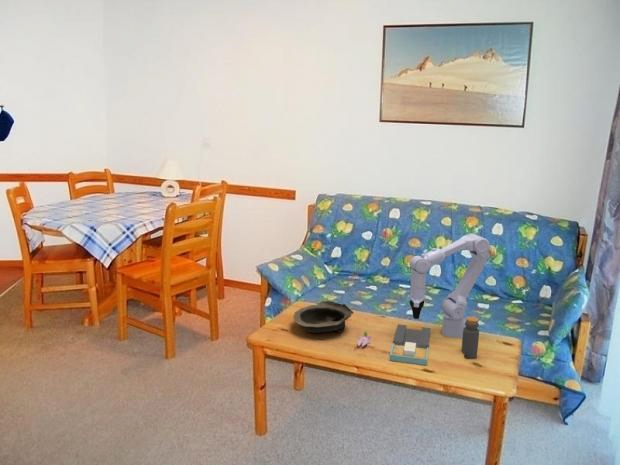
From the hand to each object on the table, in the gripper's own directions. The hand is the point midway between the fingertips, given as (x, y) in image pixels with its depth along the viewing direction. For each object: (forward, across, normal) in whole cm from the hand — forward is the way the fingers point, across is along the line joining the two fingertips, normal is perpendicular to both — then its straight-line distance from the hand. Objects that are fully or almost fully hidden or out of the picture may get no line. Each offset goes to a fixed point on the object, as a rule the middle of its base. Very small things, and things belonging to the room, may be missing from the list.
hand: (416, 318), depth 221 cm
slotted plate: (+9, +2, -1) cm, 10 cm away
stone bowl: (+10, 0, -39) cm, 40 cm away
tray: (+9, +17, -1) cm, 19 cm away
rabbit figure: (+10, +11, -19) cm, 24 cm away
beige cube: (+9, +19, -1) cm, 21 cm away
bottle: (+10, +9, +21) cm, 25 cm away
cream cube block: (+9, +15, -1) cm, 18 cm away
